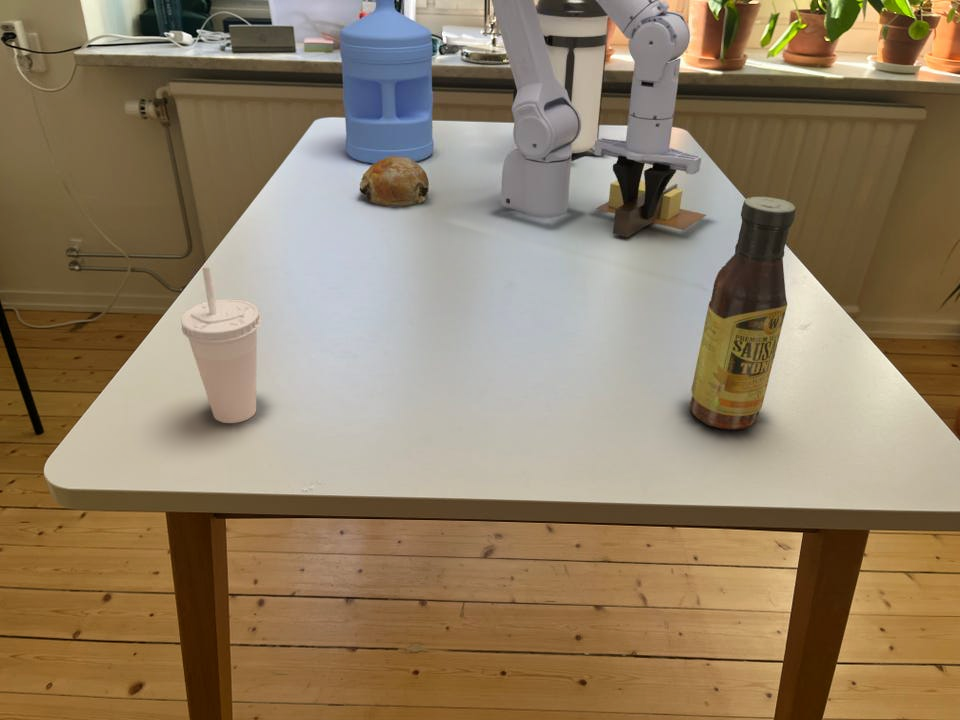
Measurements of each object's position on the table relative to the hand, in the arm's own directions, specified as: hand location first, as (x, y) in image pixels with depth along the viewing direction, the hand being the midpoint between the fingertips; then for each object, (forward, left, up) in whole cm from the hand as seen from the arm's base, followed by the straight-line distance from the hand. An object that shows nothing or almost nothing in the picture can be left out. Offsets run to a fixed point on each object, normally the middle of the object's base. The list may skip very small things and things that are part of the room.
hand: (638, 215), depth 112 cm
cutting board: (-2, +8, -3) cm, 8 cm away
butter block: (-4, +8, -2) cm, 9 cm away
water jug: (-54, +9, -3) cm, 54 cm away
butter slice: (+1, +8, -2) cm, 8 cm away
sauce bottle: (+27, -36, -3) cm, 46 cm away
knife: (0, +3, -1) cm, 3 cm away
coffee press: (-30, +28, -3) cm, 41 cm away
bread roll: (-37, -9, -3) cm, 38 cm away
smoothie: (-8, -63, -3) cm, 64 cm away
